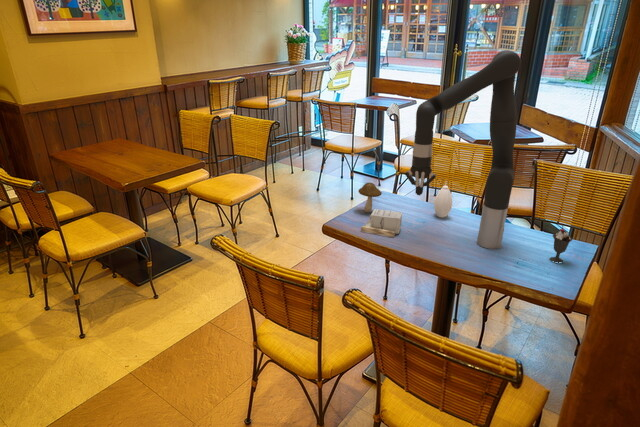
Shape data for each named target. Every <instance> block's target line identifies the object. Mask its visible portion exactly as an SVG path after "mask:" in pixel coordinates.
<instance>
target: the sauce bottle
mask: <svg viewBox="0 0 640 427" xmlns="http://www.w3.org/2000/svg"><path fill="white" fill-rule="evenodd" d="M447 183H448V182H447V180H446V181H445V184H444V185H442V187H441V189H440V190H439V191H438V193H437V195H436V197H435V199H434V203H433V204H434V205H433V209H434V212H435V214H436V215H437V216H438V217H439V218H442V219H443V218H445V217H447V216H448V215H449V214H450V212H451V211H452V207H453V197H452V192H451V189H449V186H448V185H447Z"/></svg>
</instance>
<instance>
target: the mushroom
mask: <svg viewBox="0 0 640 427" xmlns="http://www.w3.org/2000/svg"><path fill="white" fill-rule="evenodd" d="M358 194H359V195H361V196H364V197H367V200H366V203H365V205H364V208H363V210H364V213H371V211H372V210H373V198H376V197H380V196H381V195H382V194H383V193H382V191H381V190H380V189H379V188H377V186H376V185H375V184H374V183H373V182H366V183H364V184H363V185H362V187H360V188H359V189H358Z"/></svg>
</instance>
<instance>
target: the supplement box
mask: <svg viewBox="0 0 640 427" xmlns="http://www.w3.org/2000/svg"><path fill="white" fill-rule="evenodd" d="M372 210H373V211H372V212H371V214H370V215H371V224H370V227H372V228H378V229H383V230H389V231H394V232H395V233H396V234H400V230H401V226H402V221H401V220H402V217H403V212H400V211H394V210H393V211H392V210H385V209H377V208H374V209H372Z"/></svg>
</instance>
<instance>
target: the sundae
mask: <svg viewBox="0 0 640 427" xmlns="http://www.w3.org/2000/svg"><path fill="white" fill-rule="evenodd" d="M560 225H561V228H560V229H559V231H557V232H556V233H553V234H552V238H553V239H554V241H553V250H554V251H555V253H556V254H555V256H551V257H550V258H549V261H550V260H551V261H554V262H558V263H559V262H563V261H564V260H563V259H562V258H560V256H561V254H563V253H565V252H566V250H567V248H568V246H569V244H570V242H572V241H573V240H574V238H572V237H571V236H570V235H569V233H568V231H566V230H565V229H564V225H563V223H560ZM551 261H550V262H551Z"/></svg>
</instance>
